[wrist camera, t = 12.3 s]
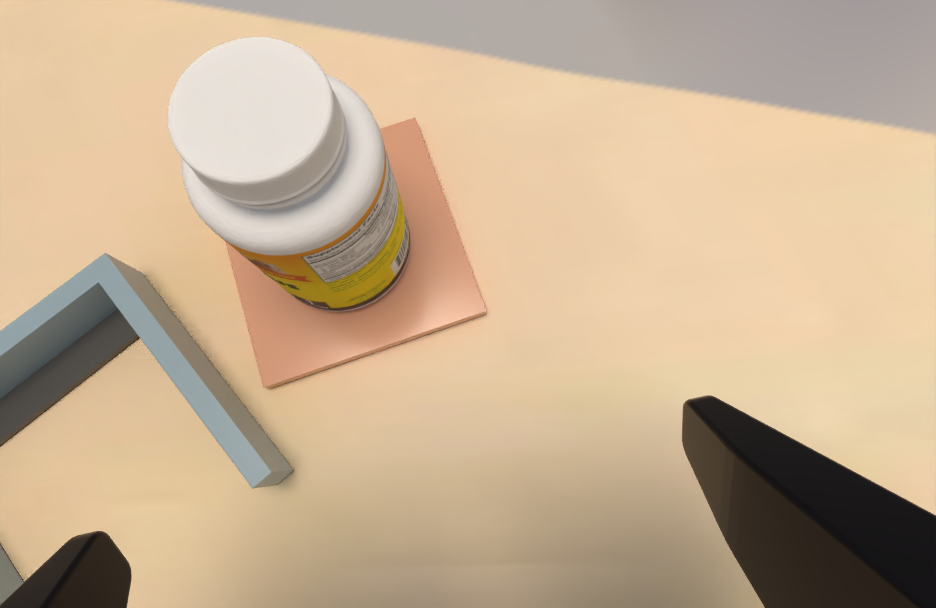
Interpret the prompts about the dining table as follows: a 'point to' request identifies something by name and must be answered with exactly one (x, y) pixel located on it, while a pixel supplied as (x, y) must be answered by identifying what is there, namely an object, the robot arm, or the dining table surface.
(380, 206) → the supplement bottle
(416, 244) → the tile
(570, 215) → the dining table surface
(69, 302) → the channel
